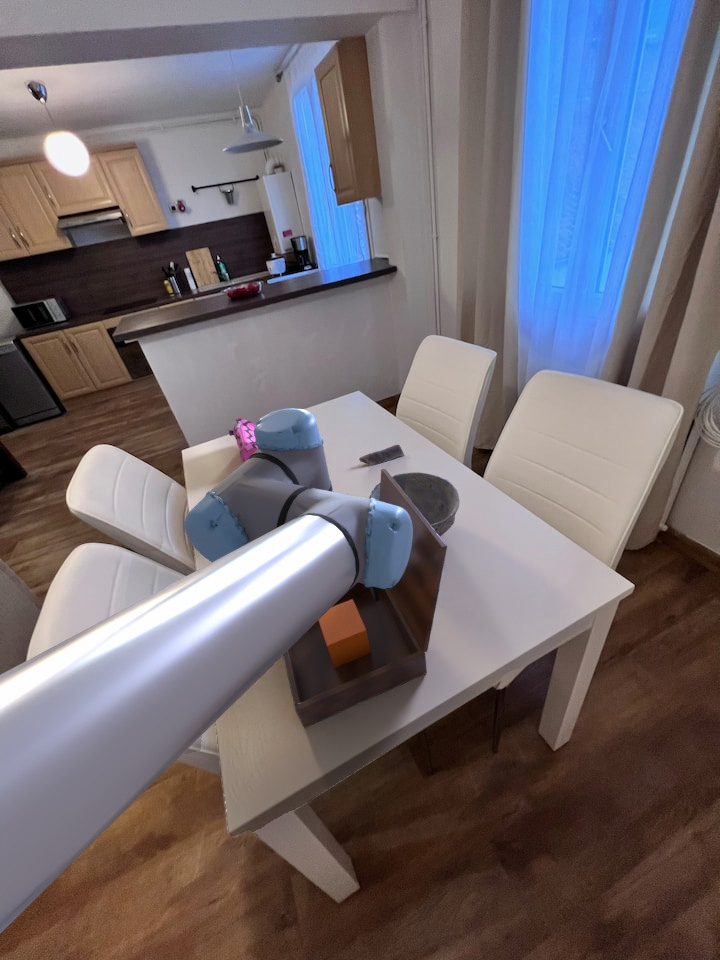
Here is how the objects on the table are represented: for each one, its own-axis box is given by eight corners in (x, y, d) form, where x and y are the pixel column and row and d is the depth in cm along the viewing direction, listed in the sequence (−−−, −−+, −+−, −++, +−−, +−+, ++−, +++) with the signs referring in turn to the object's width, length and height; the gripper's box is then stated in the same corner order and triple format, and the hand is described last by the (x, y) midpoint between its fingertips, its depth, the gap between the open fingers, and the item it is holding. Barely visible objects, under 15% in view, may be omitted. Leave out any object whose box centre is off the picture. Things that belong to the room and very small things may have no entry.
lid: (442, 547, 52) (469, 540, 54) (381, 469, 69) (403, 465, 70) (423, 653, 65) (445, 645, 66) (375, 565, 81) (394, 560, 82)
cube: (334, 668, 70) (326, 646, 66) (323, 635, 76) (316, 613, 72) (371, 652, 72) (366, 629, 68) (358, 621, 77) (352, 598, 73)
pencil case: (233, 446, 144) (224, 421, 138) (259, 437, 146) (251, 412, 140) (244, 474, 127) (234, 448, 121) (274, 464, 130) (265, 437, 124)
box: (304, 728, 64) (295, 711, 60) (280, 624, 80) (272, 606, 77) (426, 673, 68) (425, 654, 65) (380, 585, 85) (377, 566, 81)
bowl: (478, 535, 92) (480, 501, 86) (404, 576, 86) (400, 543, 80) (424, 491, 108) (422, 461, 102) (358, 524, 101) (352, 493, 95)
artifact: (404, 455, 123) (404, 449, 122) (363, 468, 121) (361, 462, 119) (399, 450, 126) (399, 443, 125) (359, 462, 124) (358, 456, 122)
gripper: (383, 475, 61) (395, 568, 74) (219, 530, 56) (262, 620, 69) (404, 502, 55) (414, 599, 68) (223, 567, 50) (270, 658, 63)
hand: (338, 609), depth 68 cm, fingers open, 13 cm apart
